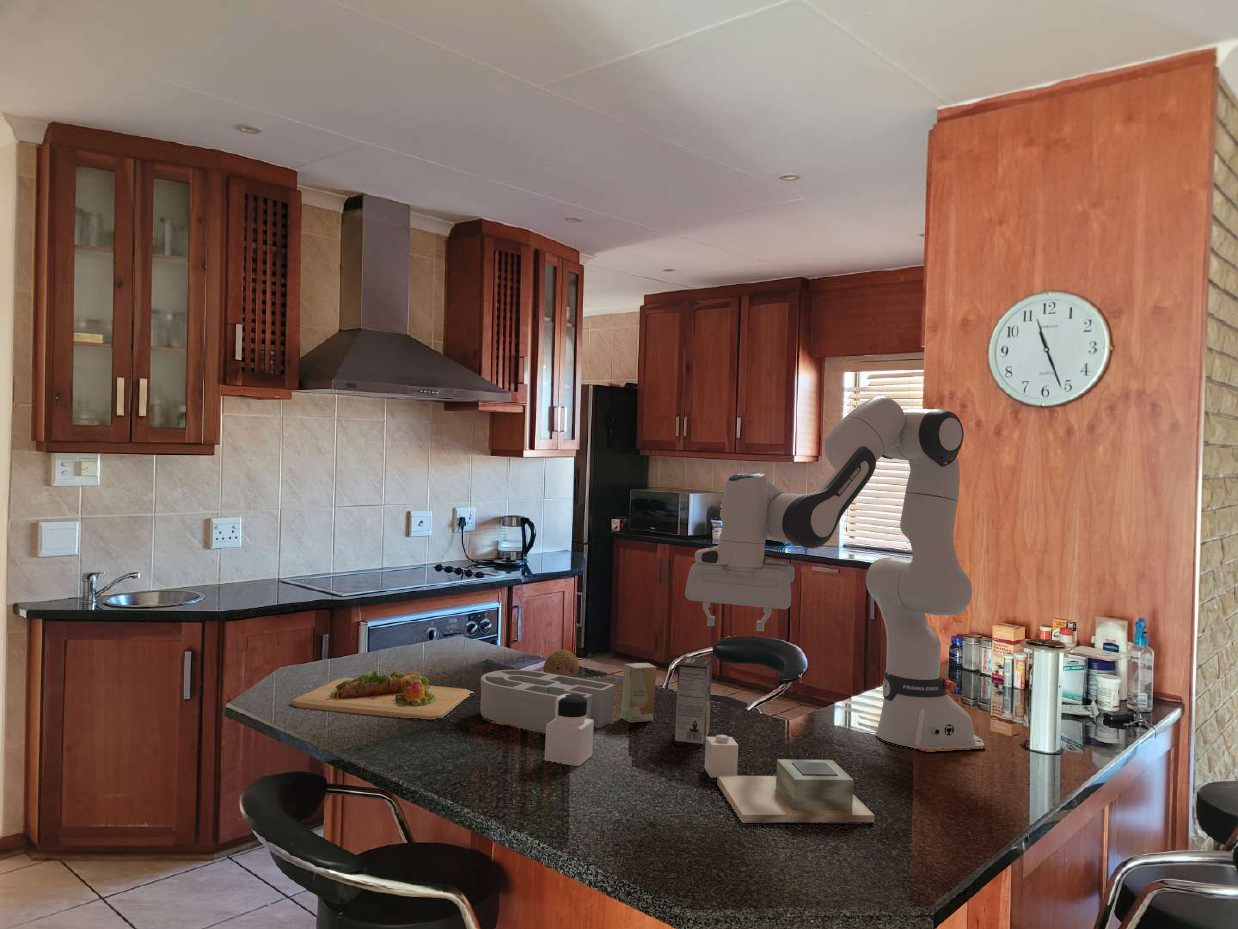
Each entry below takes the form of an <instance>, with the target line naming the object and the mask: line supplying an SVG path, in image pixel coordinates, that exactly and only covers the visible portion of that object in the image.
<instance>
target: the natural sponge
mask: <svg viewBox="0 0 1238 929" xmlns="http://www.w3.org/2000/svg"><path fill="white" fill-rule="evenodd" d="M579 669H580V663H579V660H578V658H577V657H576V655H575V653H573V652H572V651H570V650H567V649H556V650H555V651H553V652H552V653H550V654H549V655H548V657H547V658H546V659H545V661H544V663H543V669H542V670H543V671H542V672H545V673H550V674H556V675H562V676H568V677H574V678H577V677H578V676H577V675H578V674H579Z"/></svg>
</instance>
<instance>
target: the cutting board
mask: <svg viewBox="0 0 1238 929" xmlns="http://www.w3.org/2000/svg"><path fill="white" fill-rule="evenodd" d="M429 684H430V680H429V679H428V678H427V677H425V676H424V677H423V676H422V675H421V672H418V671H413V670H412V671H409V672H408V673H404V672H401V671H400V670H399V671H397V670H395V671H394V672H392V673H390V674H388V675H387V674H383V675H378V672H377V670H375V669H374V670H369V671H368V673H367V674H364V675H363V674H362V675H360V676H359V677H358V678H354V677H353V678H352V677H342V678H336V679H335V680H332V681H330V682H328V683H326V684H324V685H322V686H319V687H317V688H315V689H313V690H311V691H309V692H306V693H304V694H302V695H300V696H298V697H295V698H293V699H292V704H291V705H292V706H294V707H297V708H302V709H304V708H305V709H310V710H311V709H313V710H320V711H321V710H324V711H332V712H343V713H350V714H359V715H371V716H380V717H388V718H389V717H390V718H398V717H400V718H399V719H407V718H421V719H436V718H443V717H444V716H445V715H447V714H448V713H449V712H450V711H452V710H453V709H454V708H455V707H456V706H457V705H459V704H460V703H461V702H462V701H463V700H464V699H466V698H467V697H469V696H470V695H469V694H470V693H474V694H475V692H474V691H472V690H468V689H467V688H459V687H450V686H448V687H447V686H437V685H429Z"/></svg>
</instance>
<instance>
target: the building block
mask: <svg viewBox="0 0 1238 929" xmlns="http://www.w3.org/2000/svg"><path fill="white" fill-rule="evenodd" d="M704 750H705V751H704V752H705V753H704V754H705V755H704V770H705V771H706V773H707V774H708V777H709V778H718V776H738V760H739V759H738V758H739V744H738V743H737V742H736V740H735V739H734V737H733V736H729V735H727V734H726V735H725V734H716V735H715V736H707V737H706V740H705V749H704Z"/></svg>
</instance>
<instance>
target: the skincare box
mask: <svg viewBox="0 0 1238 929" xmlns="http://www.w3.org/2000/svg"><path fill="white" fill-rule="evenodd" d="M656 678H657V666H655V665H654V664H652V663H650V662H635V663H624V668H623V683H622V694H621V695H622V696H621V697H622V698H621V710H620V718H621V719H622V720H623V721H626V722H627V723H629V724H630V723H632V724H633V723H640V722H653V721H654V708H655V694H656V692H655V691H656V680H657V679H656Z"/></svg>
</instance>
